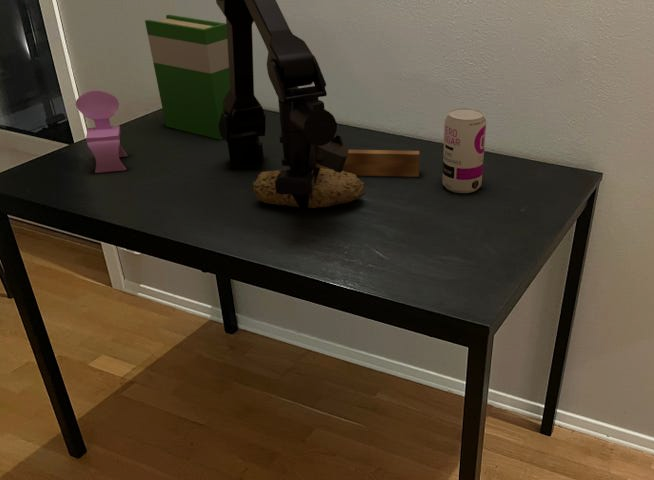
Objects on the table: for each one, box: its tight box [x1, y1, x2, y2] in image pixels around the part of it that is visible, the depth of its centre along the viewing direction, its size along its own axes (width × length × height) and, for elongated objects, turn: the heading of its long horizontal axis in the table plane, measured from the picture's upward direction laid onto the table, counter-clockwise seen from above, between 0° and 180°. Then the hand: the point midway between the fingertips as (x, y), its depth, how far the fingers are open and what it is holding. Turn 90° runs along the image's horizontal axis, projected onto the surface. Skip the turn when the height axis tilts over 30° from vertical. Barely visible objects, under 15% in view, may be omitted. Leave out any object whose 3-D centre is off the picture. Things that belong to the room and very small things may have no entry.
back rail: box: [316, 149, 420, 178], centre depth 151 cm, size 26×2×5 cm, turn 89°
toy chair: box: [75, 89, 128, 174], centre depth 150 cm, size 8×9×15 cm
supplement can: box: [441, 107, 487, 194], centre depth 143 cm, size 8×8×15 cm
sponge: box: [252, 168, 366, 209], centre depth 138 cm, size 13×8×20 cm
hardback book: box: [144, 14, 230, 140], centre depth 166 cm, size 18×7×24 cm, turn 61°
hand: (304, 210), depth 132 cm, fingers closed
